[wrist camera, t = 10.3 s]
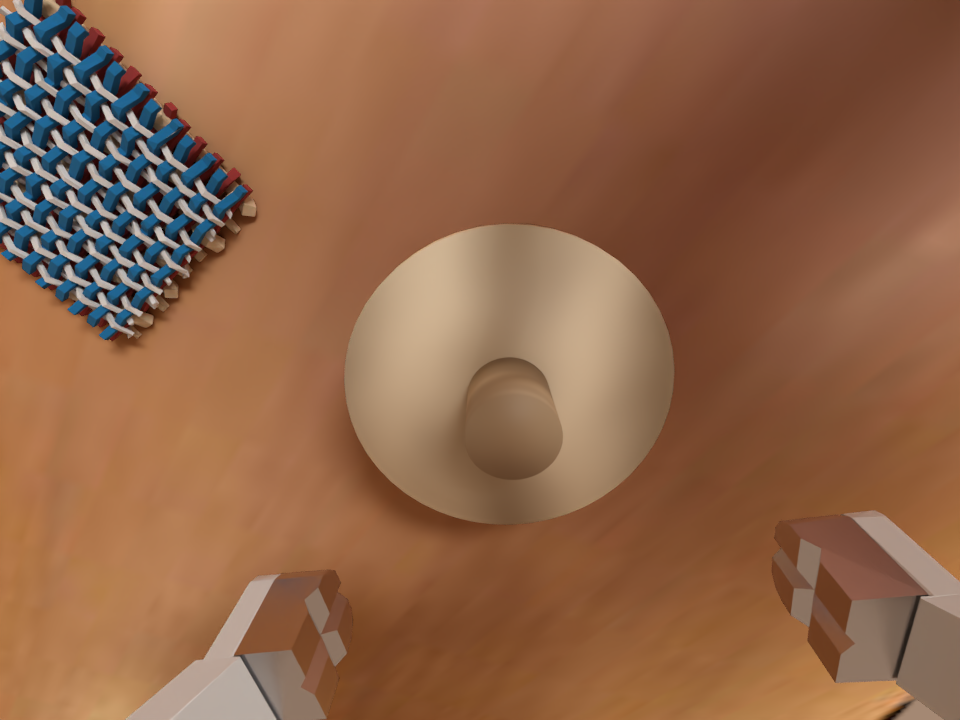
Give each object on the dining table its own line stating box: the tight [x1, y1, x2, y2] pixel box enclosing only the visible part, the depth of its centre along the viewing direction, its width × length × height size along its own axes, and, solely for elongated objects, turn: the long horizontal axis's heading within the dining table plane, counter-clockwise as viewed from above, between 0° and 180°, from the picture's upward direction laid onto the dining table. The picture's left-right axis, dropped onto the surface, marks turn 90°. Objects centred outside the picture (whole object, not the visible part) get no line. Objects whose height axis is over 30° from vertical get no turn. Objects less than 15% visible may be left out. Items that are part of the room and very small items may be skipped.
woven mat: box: [0, 0, 256, 341], centre depth 19 cm, size 10×11×2 cm
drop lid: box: [344, 223, 674, 525], centre depth 15 cm, size 12×12×4 cm
